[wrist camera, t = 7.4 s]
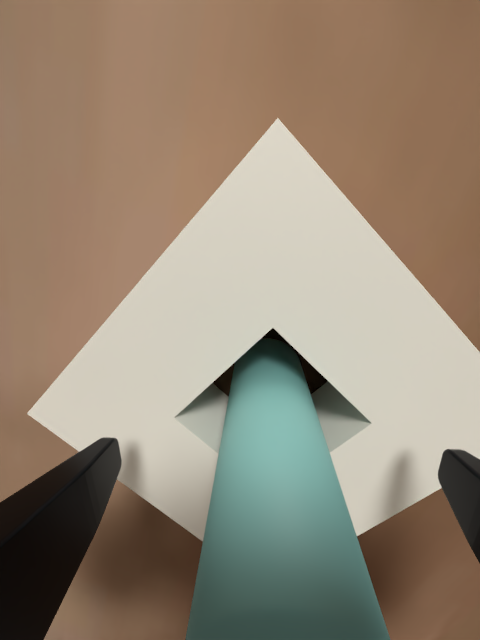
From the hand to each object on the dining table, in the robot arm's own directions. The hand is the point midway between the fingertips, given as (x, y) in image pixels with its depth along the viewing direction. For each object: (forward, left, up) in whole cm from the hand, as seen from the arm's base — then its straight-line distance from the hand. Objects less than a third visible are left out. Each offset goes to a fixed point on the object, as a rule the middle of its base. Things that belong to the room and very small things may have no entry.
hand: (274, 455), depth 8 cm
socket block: (0, 0, -5) cm, 5 cm away
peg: (0, 0, -5) cm, 5 cm away
